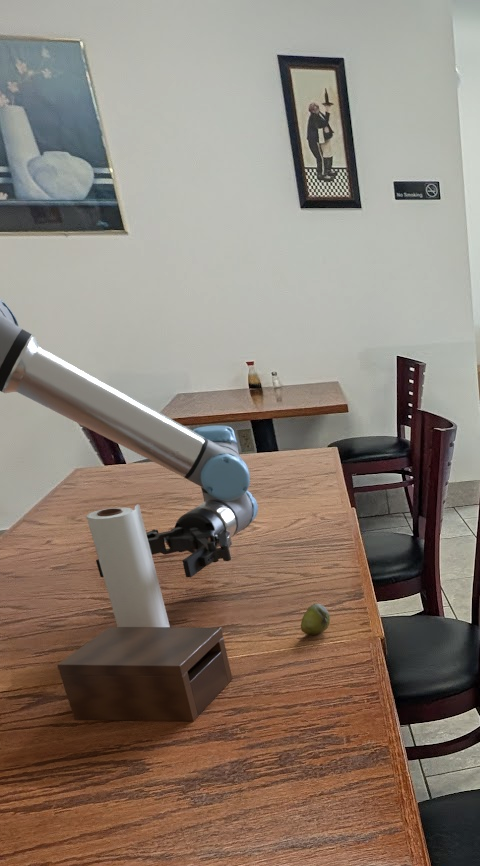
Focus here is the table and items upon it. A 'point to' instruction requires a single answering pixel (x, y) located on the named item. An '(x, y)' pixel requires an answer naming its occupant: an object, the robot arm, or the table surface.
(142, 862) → the table surface
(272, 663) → the table surface
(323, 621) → the lime
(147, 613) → the paper towel roll
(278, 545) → the table surface
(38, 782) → the table surface
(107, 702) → the drawer box
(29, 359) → the robot arm
